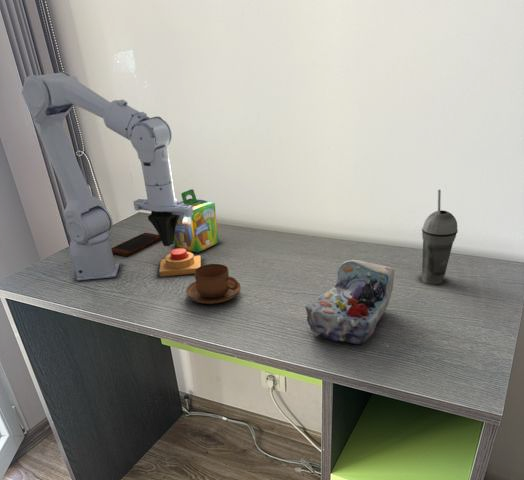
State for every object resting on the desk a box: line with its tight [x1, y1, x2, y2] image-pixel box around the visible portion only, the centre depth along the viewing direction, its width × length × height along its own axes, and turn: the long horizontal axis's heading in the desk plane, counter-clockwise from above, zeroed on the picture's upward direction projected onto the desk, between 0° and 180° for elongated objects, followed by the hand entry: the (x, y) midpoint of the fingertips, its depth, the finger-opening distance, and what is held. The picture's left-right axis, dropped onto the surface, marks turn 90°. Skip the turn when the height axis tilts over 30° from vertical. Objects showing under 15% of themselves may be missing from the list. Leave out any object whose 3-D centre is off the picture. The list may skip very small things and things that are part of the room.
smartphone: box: [111, 232, 161, 257], centre depth 139 cm, size 7×1×15 cm
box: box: [158, 251, 202, 277], centre depth 123 cm, size 10×8×3 cm
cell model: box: [305, 259, 395, 345], centre depth 94 cm, size 13×11×20 cm
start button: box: [169, 248, 188, 260], centre depth 122 cm, size 4×4×2 cm
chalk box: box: [173, 188, 220, 254], centre depth 133 cm, size 9×9×15 cm
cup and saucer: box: [185, 263, 241, 305], centre depth 109 cm, size 12×12×6 cm
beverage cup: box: [421, 189, 458, 285], centre depth 106 cm, size 7×7×20 cm
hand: (168, 244), depth 110 cm, fingers closed
